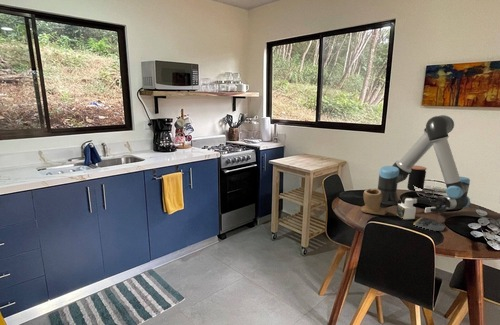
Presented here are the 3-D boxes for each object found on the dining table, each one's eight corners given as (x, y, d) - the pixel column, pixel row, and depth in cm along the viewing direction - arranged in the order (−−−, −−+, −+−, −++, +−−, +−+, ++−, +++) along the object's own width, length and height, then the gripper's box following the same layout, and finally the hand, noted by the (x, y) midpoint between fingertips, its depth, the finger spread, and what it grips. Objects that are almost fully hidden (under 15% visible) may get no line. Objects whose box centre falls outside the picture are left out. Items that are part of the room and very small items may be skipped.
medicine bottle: (396, 214, 174) (398, 195, 171) (407, 214, 174) (410, 195, 172) (403, 219, 167) (405, 200, 164) (414, 219, 167) (417, 199, 165)
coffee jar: (425, 192, 214) (428, 169, 210) (409, 191, 216) (413, 168, 212) (419, 188, 224) (423, 165, 220) (405, 187, 227) (408, 165, 222)
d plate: (447, 226, 158) (447, 223, 158) (440, 233, 150) (440, 231, 149) (421, 219, 168) (421, 216, 167) (413, 225, 159) (413, 222, 159)
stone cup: (359, 214, 174) (361, 190, 170) (361, 207, 184) (364, 185, 180) (386, 219, 167) (390, 194, 163) (387, 212, 177) (390, 189, 174)
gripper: (463, 217, 163) (432, 220, 159) (427, 201, 187) (399, 204, 182) (465, 204, 162) (434, 207, 157) (429, 190, 185) (401, 192, 180)
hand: (416, 205), depth 169 cm, fingers open, 13 cm apart
